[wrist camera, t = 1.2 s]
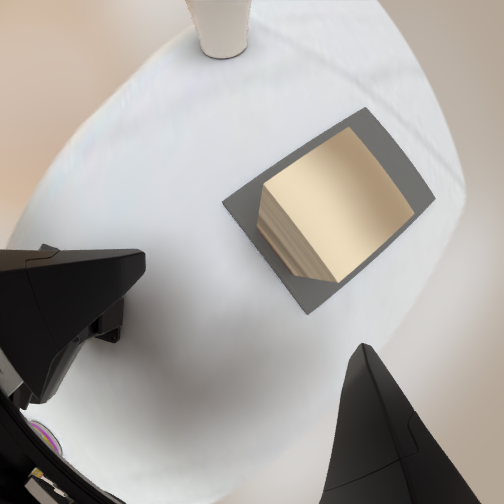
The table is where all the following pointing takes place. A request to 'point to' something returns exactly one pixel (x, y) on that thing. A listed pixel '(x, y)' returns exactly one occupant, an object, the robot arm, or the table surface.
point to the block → (331, 209)
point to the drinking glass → (221, 25)
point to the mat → (249, 196)
